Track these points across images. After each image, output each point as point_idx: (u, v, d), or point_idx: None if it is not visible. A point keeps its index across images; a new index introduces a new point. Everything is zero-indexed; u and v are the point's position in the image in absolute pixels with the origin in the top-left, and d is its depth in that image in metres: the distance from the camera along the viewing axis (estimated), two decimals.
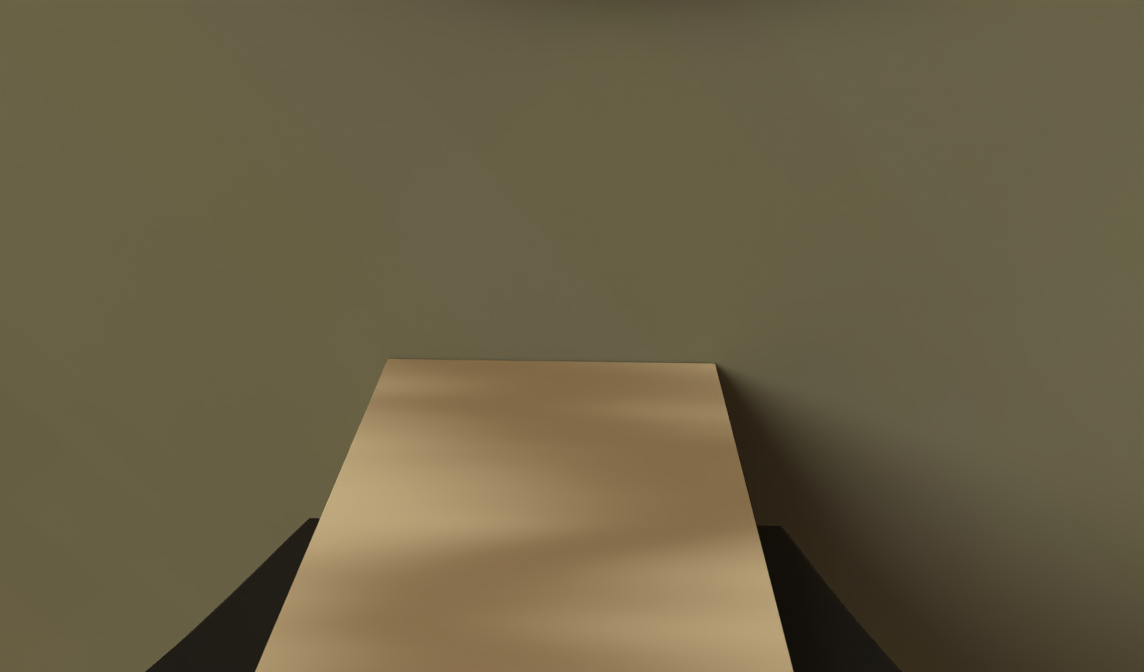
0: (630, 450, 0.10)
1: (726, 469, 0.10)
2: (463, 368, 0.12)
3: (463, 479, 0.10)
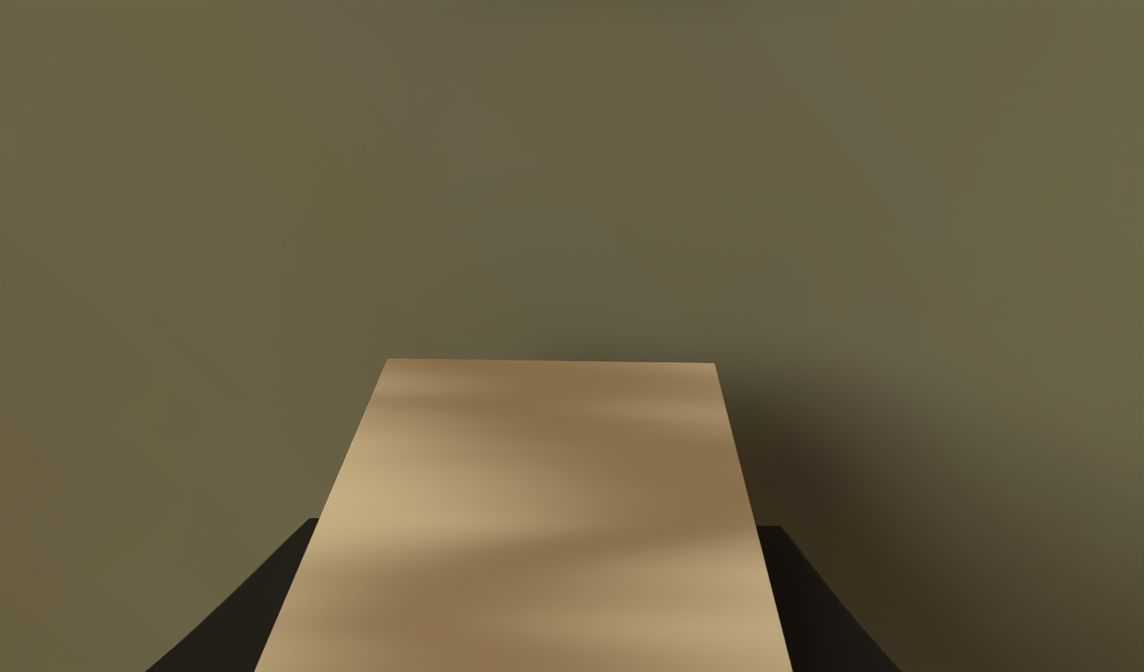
0: (629, 449, 0.10)
1: (725, 468, 0.10)
2: (463, 368, 0.12)
3: (464, 478, 0.10)
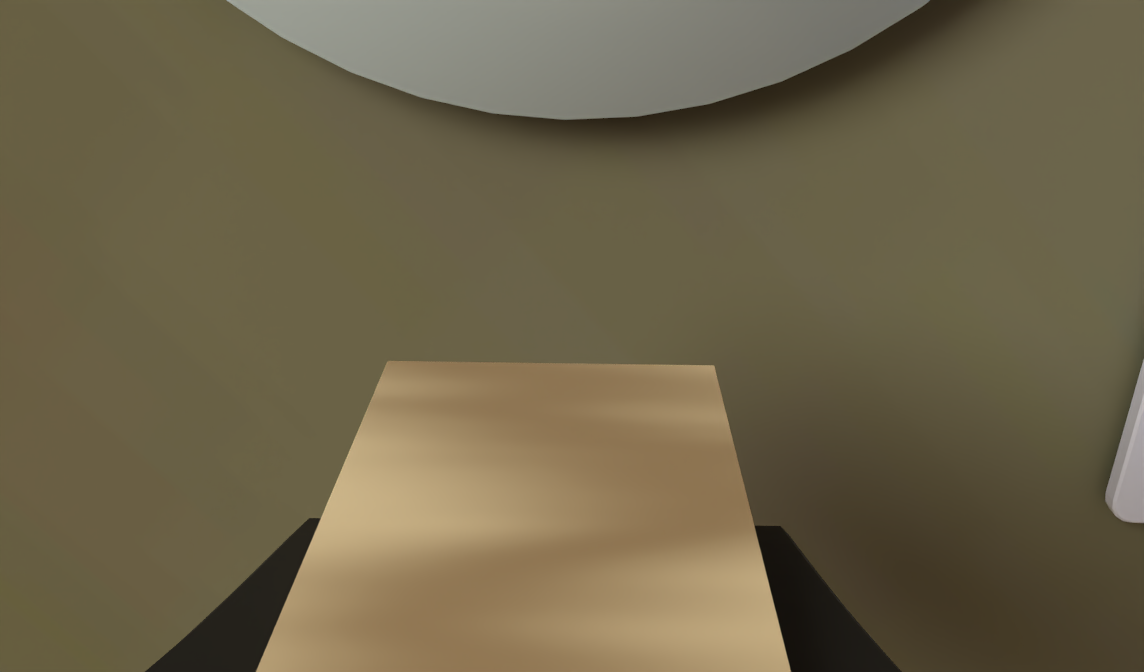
0: (628, 451, 0.10)
1: (725, 471, 0.10)
2: (463, 370, 0.12)
3: (463, 481, 0.10)
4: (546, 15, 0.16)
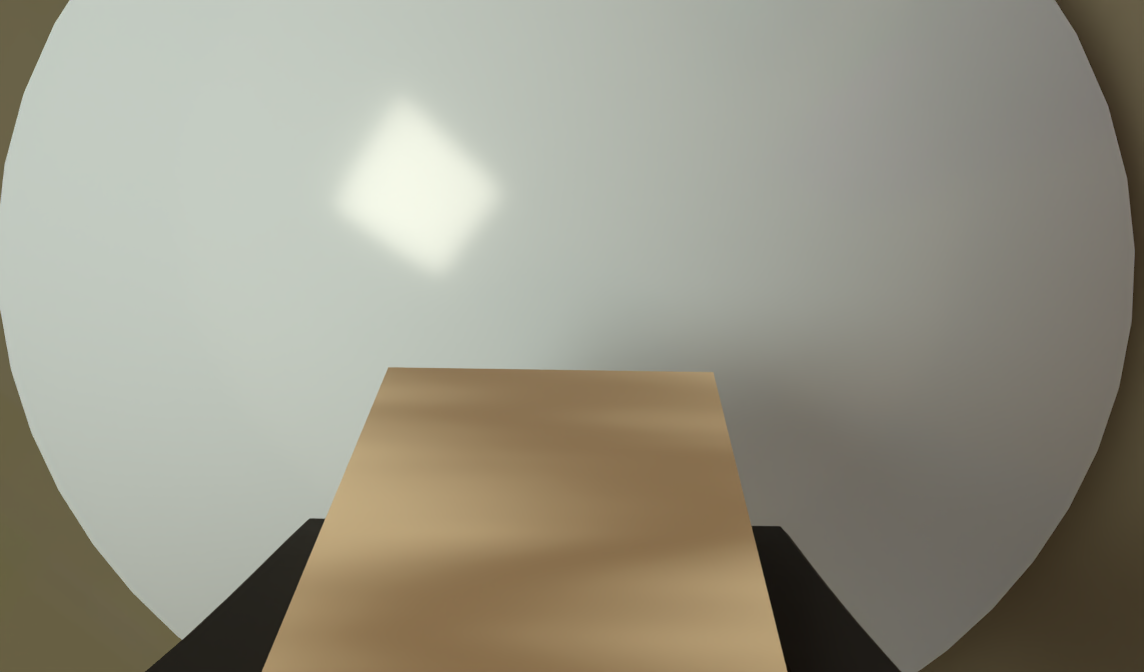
0: (628, 458, 0.10)
1: (724, 479, 0.10)
2: (463, 377, 0.12)
3: (463, 488, 0.10)
4: None
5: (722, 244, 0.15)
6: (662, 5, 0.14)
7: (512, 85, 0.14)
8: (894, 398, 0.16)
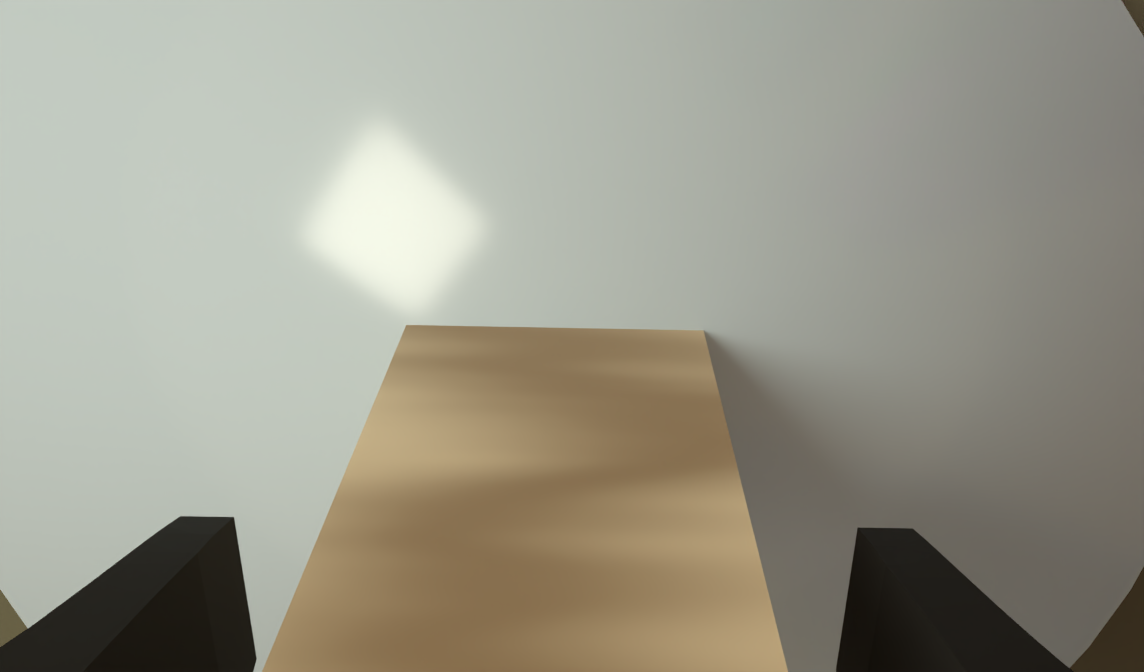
0: (625, 401, 0.12)
1: (711, 418, 0.11)
2: (475, 333, 0.13)
3: (477, 424, 0.11)
4: None
5: (740, 298, 0.13)
6: (672, 24, 0.12)
7: (497, 117, 0.12)
8: (935, 469, 0.14)
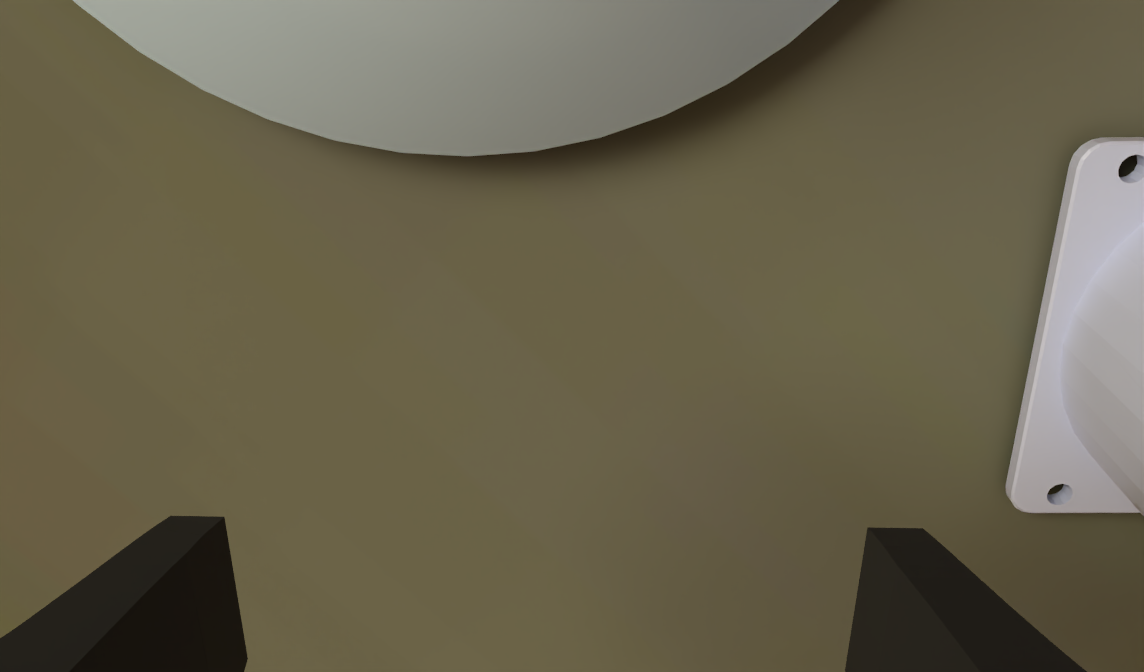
0: None
1: None
2: None
3: None
4: (443, 62, 0.17)
5: None
6: None
7: None
8: None
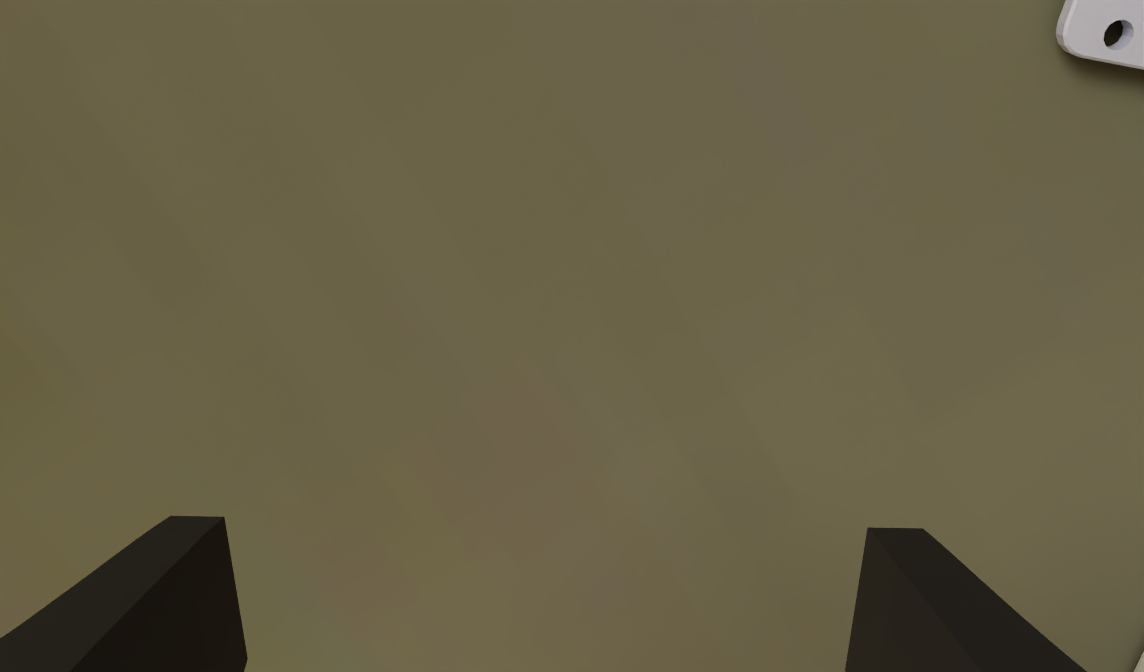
0: None
1: None
2: None
3: None
4: None
5: None
6: None
7: None
8: None
